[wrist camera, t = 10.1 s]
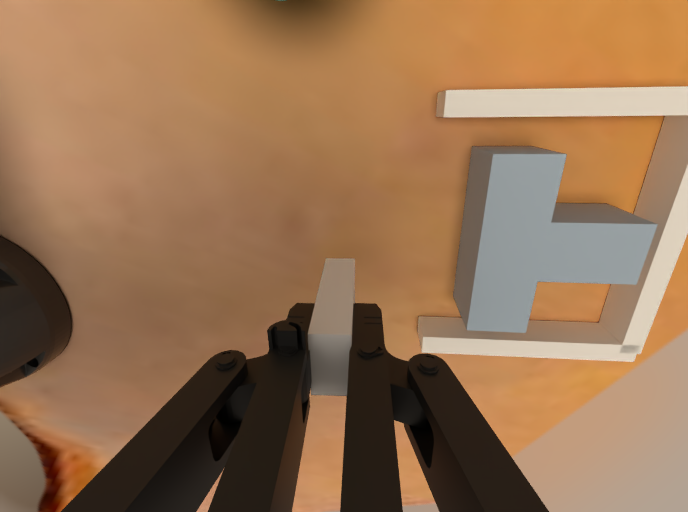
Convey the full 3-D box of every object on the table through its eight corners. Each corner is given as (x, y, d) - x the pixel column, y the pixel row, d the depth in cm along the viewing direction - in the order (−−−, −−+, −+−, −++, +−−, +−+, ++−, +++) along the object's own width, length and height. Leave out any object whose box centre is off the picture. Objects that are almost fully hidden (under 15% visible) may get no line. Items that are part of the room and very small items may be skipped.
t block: (453, 295, 29) (466, 330, 24) (471, 146, 24) (493, 154, 20) (579, 300, 28) (617, 337, 24) (623, 145, 24) (682, 154, 19)
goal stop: (417, 330, 31) (421, 352, 28) (437, 92, 23) (446, 90, 20) (612, 338, 29) (637, 361, 26) (698, 88, 22) (745, 85, 19)
